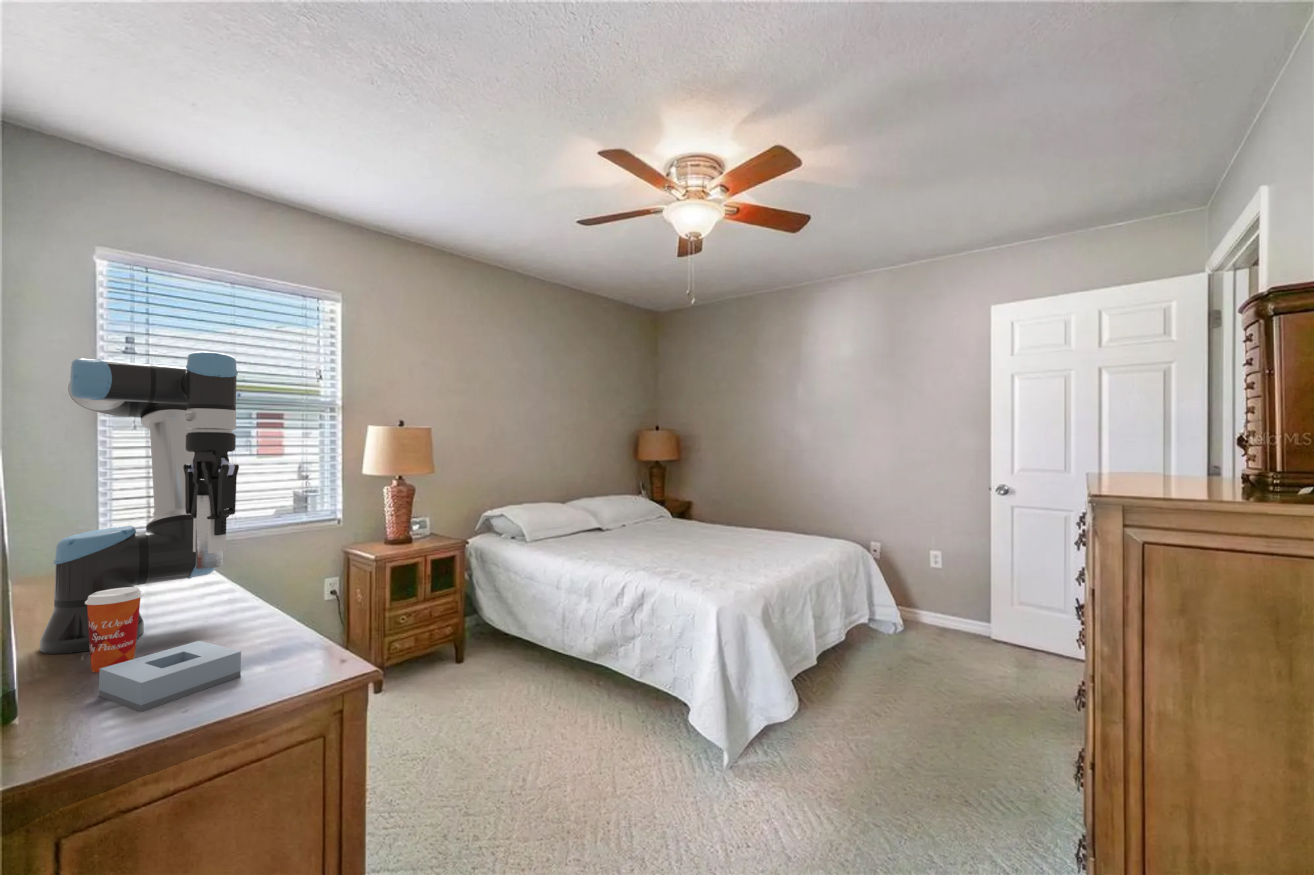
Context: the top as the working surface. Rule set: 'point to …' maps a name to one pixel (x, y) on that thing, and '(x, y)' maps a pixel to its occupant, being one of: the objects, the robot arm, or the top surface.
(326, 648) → the top surface
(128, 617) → the paper cup
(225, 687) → the top surface
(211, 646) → the socket block
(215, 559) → the pin
